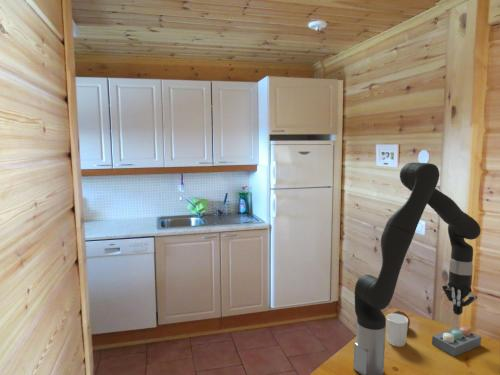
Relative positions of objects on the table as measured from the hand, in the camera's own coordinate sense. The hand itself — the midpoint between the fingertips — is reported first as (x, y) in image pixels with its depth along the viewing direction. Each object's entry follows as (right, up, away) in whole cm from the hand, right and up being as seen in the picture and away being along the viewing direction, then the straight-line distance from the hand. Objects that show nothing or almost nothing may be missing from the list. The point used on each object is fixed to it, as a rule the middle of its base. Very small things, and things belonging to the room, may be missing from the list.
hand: (457, 313), depth 136 cm
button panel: (0, -12, +1) cm, 12 cm away
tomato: (-17, -11, +14) cm, 24 cm away
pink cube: (+4, -11, +3) cm, 12 cm away
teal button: (0, -11, +1) cm, 11 cm away
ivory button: (-5, -11, -1) cm, 12 cm away
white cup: (-22, -12, +3) cm, 26 cm away
